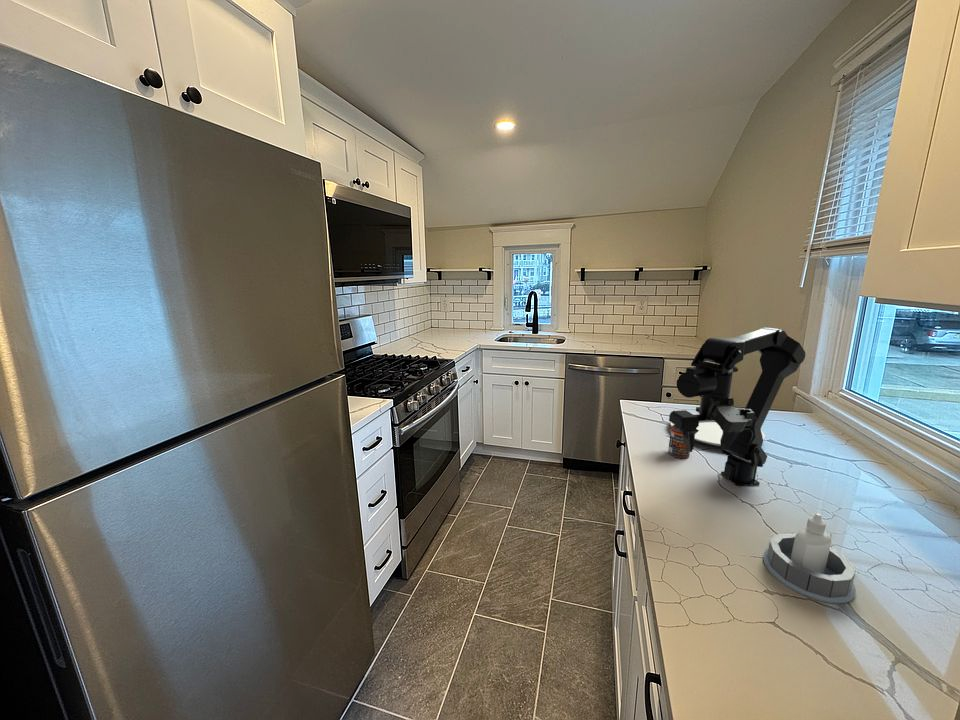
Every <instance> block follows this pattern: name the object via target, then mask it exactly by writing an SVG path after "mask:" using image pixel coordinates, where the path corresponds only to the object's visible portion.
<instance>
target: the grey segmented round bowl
mask: <svg viewBox="0 0 960 720" xmlns="http://www.w3.org/2000/svg"><path fill="white" fill-rule="evenodd" d="M796 534H797V533H776V534H774V536H772V538H770V539H769V544H768V548H767V549H766V550H765V551H764V553H763V563H764V566H765V568H766V569H767V570H768V572H769V573H770V574H771V575H772V576H773V577H774V578H776V580H778V581H779V582H780V583H782V584H783V585H785V586H786V587H787V588H789V589H791V590H792V591H795V592H796V593H798V594H800V595H802V596H804V597H807V598H809V599H813V600H816V601H819V602H824V603H828V604H836V605H838V604H839V605H840V604H841V605H842V604H847V603H850V602H851V601H853V599H855V597H856V596H855V595H856V591H857V590H856V589H857V588H856V586H855V584H854V580H855V577H856V570H855V568H854V566H853V564H852V563H851V562H850V560H849V559H848V558H847V557H846V556H844V555H843V554H842V553H841V552H839V551H837V549H835V548H834V547H831V546H830V550H829V555H828V559H827V563H826V568H825V571H824V573H823V574H821V573H818V572H814V571H810V570H808V569H806V568H804V567H802V566H800V565H798V564H796V563H794V562H792V561H791V560H790V559H791V554H792V549H793V545H794V540H795V536H796Z"/></svg>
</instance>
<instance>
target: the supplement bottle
mask: <svg viewBox="0 0 960 720" xmlns="http://www.w3.org/2000/svg"><path fill="white" fill-rule="evenodd" d="M670 427H671V428H670V432H669V433H670V435H669V441H668V449H667V452H668V454H669V455H670V456H672V457H674V458H678V459H687V458H689V457H690V454H691V452H690V451H688V448H687V446H686V443H685V440H684V438H683V435H682V433H681V431H680V429H679V427H677V426H676V425H673V426H670Z"/></svg>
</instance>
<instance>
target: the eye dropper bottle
mask: <svg viewBox="0 0 960 720" xmlns="http://www.w3.org/2000/svg"><path fill="white" fill-rule="evenodd" d="M826 525H827V524H826V522H825V521H824V520H823V519H822V514H821V513H818V512H817V513H815V515H814V517H813V516H810V517H807V521H806V527H804V528H802V529H801V530H799V531H798V532H797V533H795V534H796V536H795V540H794V545H793V549H792V554H791V559H790V560H791V561H792V562H794V563H796V564H798V565H800V566H802V567H804V568H806V569H808V570H810V571H814V572H818V573H821V574H823V573H824V571H825V568H826V563H827V559H828V555H829V550H830V547H831V546H832V545H831V544H832V538H831V535H829V534H828V533H827V532H825V530H826V527H827V526H826Z"/></svg>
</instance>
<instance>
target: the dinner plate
mask: <svg viewBox="0 0 960 720" xmlns="http://www.w3.org/2000/svg"><path fill="white" fill-rule="evenodd" d="M692 414H693V415H699V413H692ZM669 424H670V427H672V426H673V425H674V424H673V423H672V422H670V421H669ZM696 429H697V430H699V431H698V432H697V433H696V434H695V438H694V441H696V442H700V443H703V444H705V445H706V444H707V445H709V446H716V447H721V443H720V440H721V437H722V435H723V430H722V429H721V428H720V426H719V425H718V424H717V423H716V422H702V423H699V426H698V427H697V428H696ZM761 433H762V437H763V441H764V440H765V438H766V435H765V434H764V432H763V431H762V430H761Z"/></svg>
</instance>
